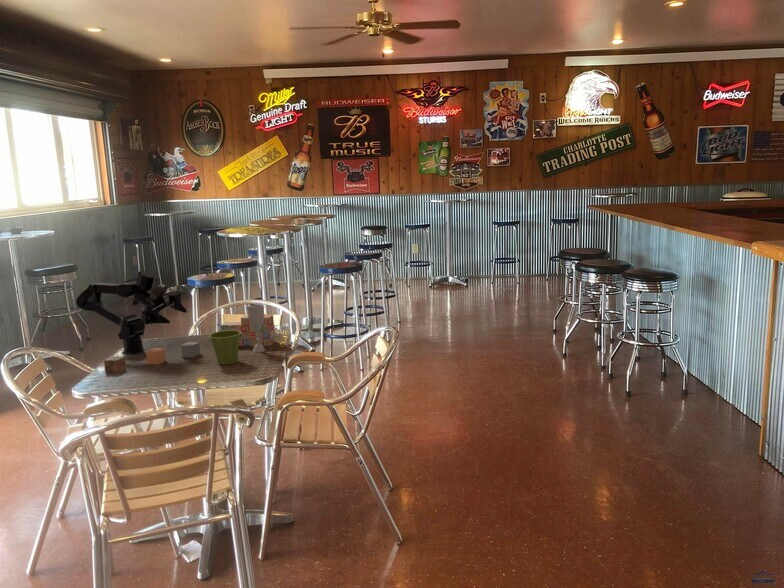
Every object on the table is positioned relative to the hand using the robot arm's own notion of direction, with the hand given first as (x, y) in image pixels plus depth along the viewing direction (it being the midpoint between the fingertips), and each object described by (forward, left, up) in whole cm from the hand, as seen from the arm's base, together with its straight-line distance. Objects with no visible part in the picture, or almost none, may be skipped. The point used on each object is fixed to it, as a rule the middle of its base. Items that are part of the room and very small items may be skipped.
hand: (178, 316), depth 240 cm
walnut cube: (-14, -22, -16) cm, 31 cm away
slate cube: (+4, 0, -16) cm, 17 cm away
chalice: (+29, +9, -16) cm, 34 cm away
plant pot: (+24, -8, -16) cm, 30 cm away
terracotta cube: (-5, -10, -16) cm, 19 cm away
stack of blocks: (+20, +19, -16) cm, 32 cm away
